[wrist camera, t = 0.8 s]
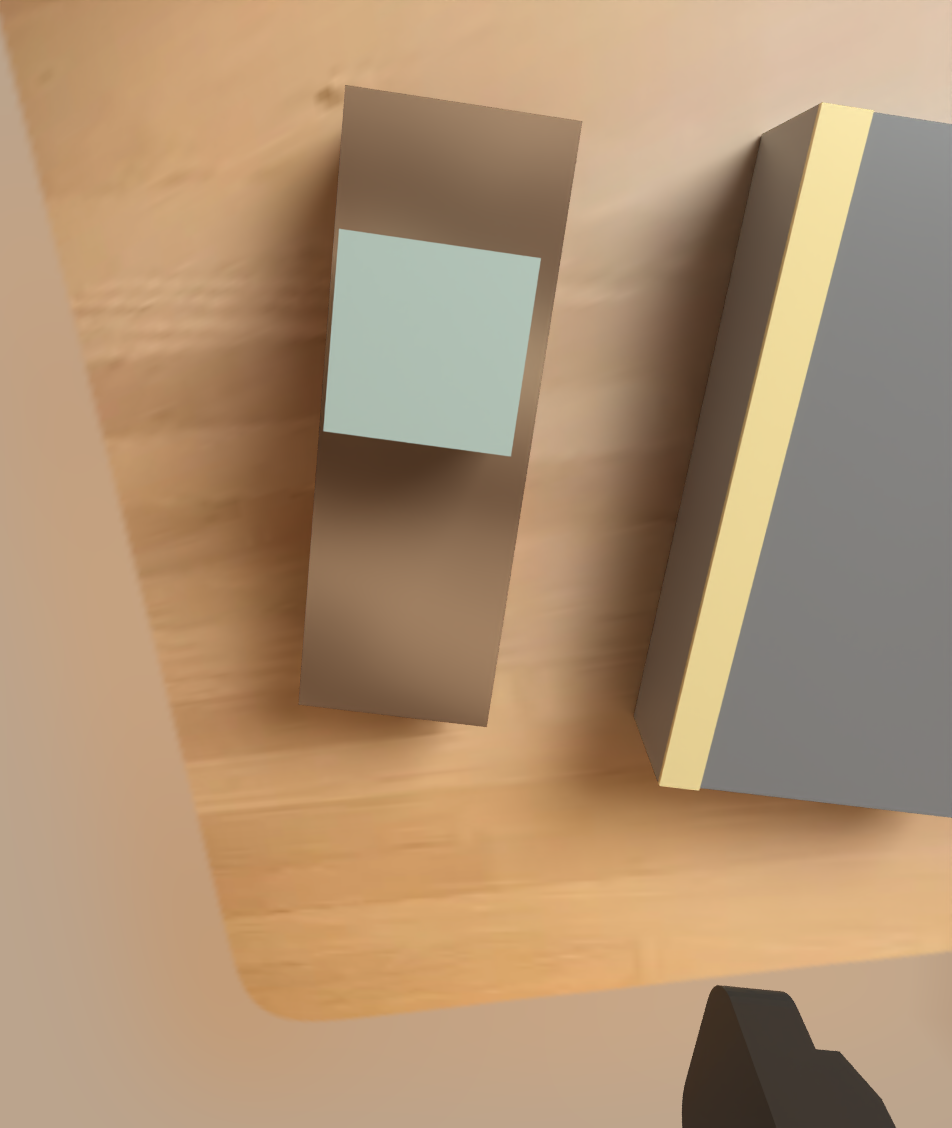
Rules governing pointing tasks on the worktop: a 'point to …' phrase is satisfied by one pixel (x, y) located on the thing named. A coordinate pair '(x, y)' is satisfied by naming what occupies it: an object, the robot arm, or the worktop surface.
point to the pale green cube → (428, 342)
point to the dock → (821, 487)
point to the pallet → (421, 472)
